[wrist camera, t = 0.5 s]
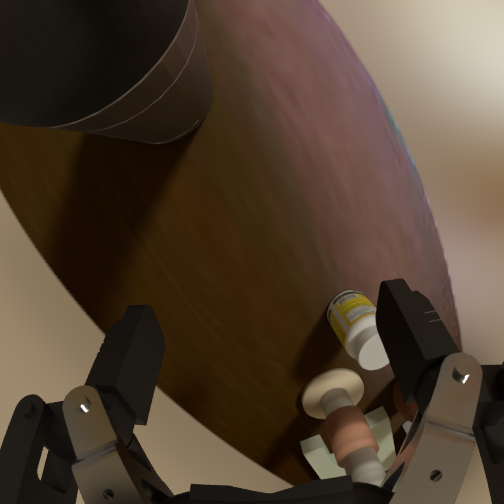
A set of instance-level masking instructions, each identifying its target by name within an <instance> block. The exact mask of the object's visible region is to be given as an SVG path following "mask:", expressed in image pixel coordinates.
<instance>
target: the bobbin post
mask: <svg viewBox="0 0 504 504" xmlns="http://www.w3.org/2000/svg"><path fill="white" fill-rule="evenodd" d="M363 392H364V384H363V382H362V380H361V379H360V377H359V375H358V374H357V373H356V372H355V371H353V370H351V369H347V368H335V369H330V370H327V371H325V372H322V373H320V374H318V375H317V376H315V377H314V378H313V379H311V380H310V381H309V382H308V383H307V384H306V386H305V387H304V389H303V391H302V395H301V401H302V404H303V408H304V410H305V412H306V413H307V414H308V415H310V416H312V417H314V418H318V419H325V421H324V426H325V429H326V432H327V435H328V438H329V441H330V444H331V447H332V450H333V453H334V455H335V458H336V461H337V464H338V466H339V467H341V468H344V469H345V472H346V475H350V474H351V477H352V481H355V482H364V483H369V484H373V485H377V486H380V485H381V483H382V481H383V479H384V477H385V476H386V473H385V471H384V469H383V466H382V464H381V462H380V460H379V458H378V456H377V453H378V452H379V446H378V444H377V442H376V440H375V438H374V436H373V434H372V432H371V429H370V427H369V425H368V423H367V421H366V419H365V417H364V415H363V413H362V411H361V409H360V408H359V407H357V406H355V405H356V404H357V403H358V402H359V401H360V399H361V398H362V395H363Z"/></svg>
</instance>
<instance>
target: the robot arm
mask: <svg viewBox="0 0 504 504" xmlns="http://www.w3.org/2000/svg"><path fill="white" fill-rule="evenodd" d="M212 97H213V86H212V81H211V77H210V71H209V66H208V62H207V57H206V52H205V48H204V43H203V39H202V34H201V30H200V25H199V21H198V16H197V12H196V8H195V4H194V0H0V122H2V123H6V124H12V125H21V126H31V127H41V128H50V129H58V130H66V131H76V132H83V133H90V134H96V135H103V136H109V137H115V138H121V139H126V140H132V141H137V142H142V143H148V144H167V143H172V142H175V141H177V140H180V139H182V138H184V137H185V136H187V135H189V134H190V133H192V132H193V131H194V130H195V129H196V128H197V127H198V126H199V125H200V124H201V122H202V121H203V120H204V118H205V117H206V115H207V113H208V111H209V109H210V106H211V102H212ZM375 322H376V328H377V332H378V334H379V337H380V339H381V342H382V344H383V347H384V349H385V352H386V354H387V357H388V359H389V362H390V365H391V367H392V370H393V373H394V375H395V378H396V381H397V384H398V386H399V389H400V392H401V395H402V398H403V401H404V404H405V405H406V404H410V403H414V402H416V404H417V407H418V410H417V412H416V414H415V416H414V419H413V421H412V424H411V426H410V429H409V431H408V433H407V436H406V438H405V440H404V442H403V445H402V447H401V449H400V451H399V453H398V455H397V457H396V459H395V461H394V462H393V464H392V466H391V467H390V469H389V471H388V472H387V474H386V476H385V477H384V479H383V481H382V483H381V485H380V486H377V485H373V484H369V483H364V482H355V481H352V477H351V474H350V475H345V476H339V477H334V478H327V479H321V480H313V481H309V482H307V483H304V484H301V485H298V486H295V487H292V488H288V489H285V490H282V491H279V492H275V493H270V494H269V493H262V492H256V491H251V490H247V489H242V488H237V487H233V486H227V485H226V486H225V485H201V484H191V486H190V491H189V492H185V493H181V494H177V495H175V496H174V494H173V493H172V492H171V490H170V489H169V488H168V486H167V485H166V484H165V483H164V482H163V481H162V480H161V478H160V477H159V476H158V475H157V473H156V471H155V470H154V468H153V466H152V465H151V463H150V461H149V460H148V458H147V456H146V454H145V452H144V451H143V449H142V447H141V445H140V443H139V442H138V440H137V438H136V436H135V434H134V433H133V429H134V425H135V424H136V425H146V424H147V420H148V415H149V411H150V407H151V403H152V398H153V394H154V390H155V386H156V382H157V378H158V374H159V370H160V366H161V363H162V359H163V355H164V351H165V339H164V335H163V333H162V330H161V328H160V326H159V324H158V321H157V319H156V317H155V314H154V312H153V309H152V307H151V306H150V305H132V306H128V308H127V309H126V312H125V314H124V316H123V318H122V320H117V321H116V323H115V324H114V325H113V326H112V327H111V328H110V329H109V330H108V332H107V334H106V336H105V339H104V343H102V345H101V347H100V352H98V354H97V357H96V359H95V361H94V363H93V366H92V368H91V370H90V373H89V375H88V378H87V380H86V383H85V385H84V386H79V387H76V388H74V389H73V390H71V391H70V392H69V393H68V394H67V396H66V397H65V399H64V401H60V402H54V403H48V404H46V403H45V402H44V401H43V400H42V399H41V398H40V397H39V396H38V395H33V394H32V395H28V396H25V397H24V398H22V399H21V400H20V402H19V403H18V405H17V406H16V408H15V411H14V413H13V416H12V418H11V421H10V423H9V426H8V429H7V431H6V434H5V437H4V440H3V443H2V446H1V449H0V504H76V498H77V492H78V488H79V490H80V493H81V495H82V498H83V500H84V502H85V504H454V503H455V501H456V498H457V496H458V493H459V491H460V488H461V486H462V483H463V480H464V477H465V474H466V471H467V468H468V465H469V462H470V459H471V456H472V452H473V449H474V444H475V439H476V442H477V445H478V449H479V452H480V456H481V459H482V463H483V467H484V470H485V474H486V478H487V483H488V487H489V491H490V496H491V501H492V504H504V362H503V364H502V365H480V364H479V362H478V361H477V360H476V359H475V358H474V357H472V356H470V355H468V354H466V353H460V351H459V350H458V348H457V346H456V344H455V343H454V341H453V339H452V337H451V336H450V334H449V332H448V330H447V329H446V327H445V325H444V324H443V322H442V320H440V317H439V316H438V314H437V312H435V309H434V308H433V306H432V304H431V303H430V301H429V300H428V299H427V298H426V297H425V296H424V295H422V294H421V293H420V292H418V291H411V290H410V288H409V287H408V285H407V283H406V282H405V280H404V279H402V278H400V279H394V280H387V281H382V282H381V284H380V289H379V296H378V302H377V308H376V315H375ZM471 429H473V432H474V435H473V434H471ZM43 447H46V448H47V449H48V450H49V451H48V454H47V458H46V462H45V466H44V470H43V474H42V478H41V481H40V480H39V478H38V474H37V469H38V465H39V461H40V457H41V454H42V450H43Z"/></svg>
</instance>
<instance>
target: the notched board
mask: <svg viewBox="0 0 504 504" xmlns="http://www.w3.org/2000/svg"><path fill="white" fill-rule="evenodd" d="M364 417H365V419H366V421H367V423H368V425H369V427H370V429H371V432H372V434H373V436H374V438H375V440H376V442H377V444H378V446H379V452H378V453H377V456H378V458H379V460H380V462H381V464H382V466H383V469H384V471H386V470H388V469H390V467H391V466H392V464H393V462H394V461H395V459H396V453H395V447H394V442H393V436H392V431H391V425H390V420H389V417H388V415H387V413H386V411H385V410H384V408H383V406H381V407H379V408H377V409H375V410H373V411H371V412H369V413H367V414H365V415H364ZM300 444H301V448H302V452H303V455H304V456H305V457H306V459H307V460H308V462H309V463H310V465H311V466H312V467H313V469H314V470H315V472H316V473H317V474H318V476H319V477H320V478H321V479H327V478H334V477H339V476H345V475H346V472H345V469H344V468H341V467H339V466H338V464H337V461H336V458H335V455H334V453H333V454H330V453H329V451H328V449H327V447H326V446H325V444H324V442H323V440H322V438H321V437H320V435H316V436H314V437H311V438H308V439H306V440H303V441H300Z"/></svg>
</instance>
